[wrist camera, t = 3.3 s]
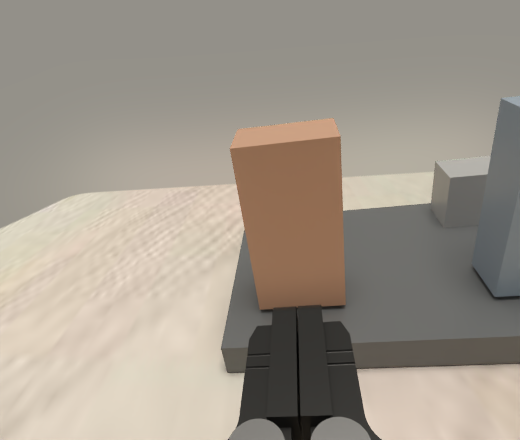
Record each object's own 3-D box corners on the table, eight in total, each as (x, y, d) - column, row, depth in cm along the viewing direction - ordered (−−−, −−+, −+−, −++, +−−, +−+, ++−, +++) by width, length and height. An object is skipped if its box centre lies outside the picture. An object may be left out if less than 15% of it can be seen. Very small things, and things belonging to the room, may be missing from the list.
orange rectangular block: (259, 309, 22) (229, 148, 17) (262, 277, 25) (237, 129, 20) (345, 305, 21) (340, 136, 17) (339, 272, 24) (333, 117, 19)
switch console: (227, 372, 21) (205, 292, 18) (250, 238, 33) (238, 176, 30) (661, 358, 19) (717, 261, 16) (514, 217, 31) (531, 147, 28)
